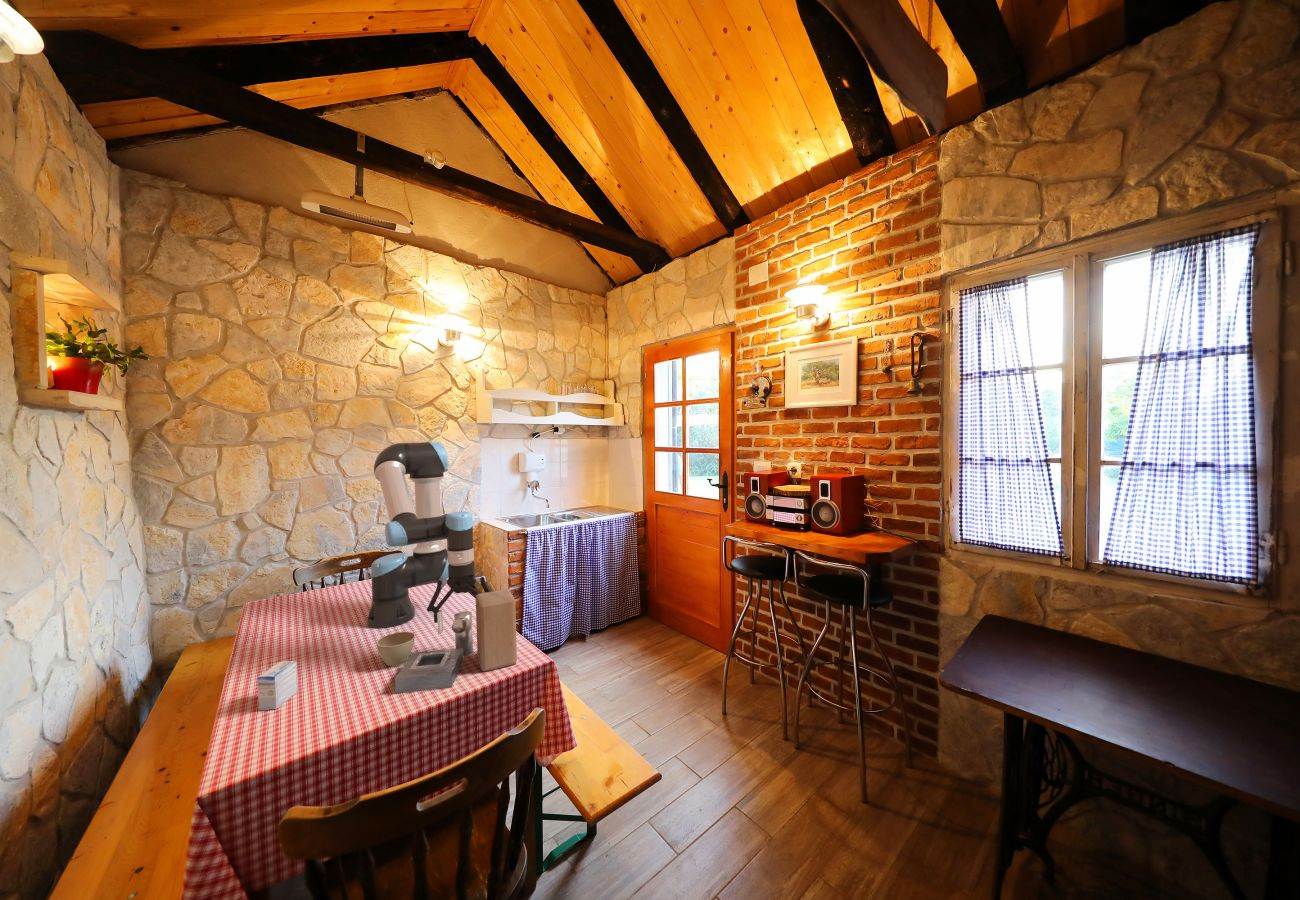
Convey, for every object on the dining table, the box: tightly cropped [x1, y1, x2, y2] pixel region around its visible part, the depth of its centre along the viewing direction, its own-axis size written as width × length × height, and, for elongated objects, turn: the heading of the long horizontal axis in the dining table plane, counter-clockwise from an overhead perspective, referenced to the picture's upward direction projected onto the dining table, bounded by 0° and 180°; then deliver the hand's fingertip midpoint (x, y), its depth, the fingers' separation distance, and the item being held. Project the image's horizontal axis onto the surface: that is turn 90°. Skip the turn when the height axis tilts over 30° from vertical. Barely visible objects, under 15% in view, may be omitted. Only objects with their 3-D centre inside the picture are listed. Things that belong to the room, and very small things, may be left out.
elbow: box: [451, 610, 474, 657], centre depth 141 cm, size 8×5×12 cm, turn 10°
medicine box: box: [256, 660, 299, 711], centre depth 118 cm, size 8×4×9 cm, turn 5°
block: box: [475, 588, 518, 672], centre depth 136 cm, size 10×10×20 cm
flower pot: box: [376, 631, 416, 667], centre depth 137 cm, size 10×10×7 cm
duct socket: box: [394, 648, 464, 694], centre depth 129 cm, size 14×14×5 cm
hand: (463, 630), depth 142 cm, fingers open, 13 cm apart
